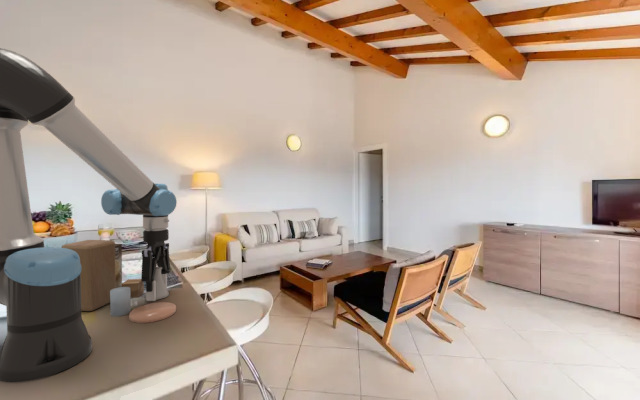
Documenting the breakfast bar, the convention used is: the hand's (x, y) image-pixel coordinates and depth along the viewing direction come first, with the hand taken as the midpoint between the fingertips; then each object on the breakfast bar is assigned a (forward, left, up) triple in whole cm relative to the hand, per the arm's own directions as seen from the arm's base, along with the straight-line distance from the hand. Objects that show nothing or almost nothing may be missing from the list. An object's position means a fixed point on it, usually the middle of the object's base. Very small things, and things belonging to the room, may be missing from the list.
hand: (157, 296), depth 102 cm
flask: (0, 0, 0) cm, 0 cm away
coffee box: (+8, +22, 0) cm, 23 cm away
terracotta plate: (-14, -6, 0) cm, 15 cm away
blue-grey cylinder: (-13, +4, 0) cm, 14 cm away
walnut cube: (+2, +9, 0) cm, 9 cm away
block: (-7, +17, 0) cm, 19 cm away
